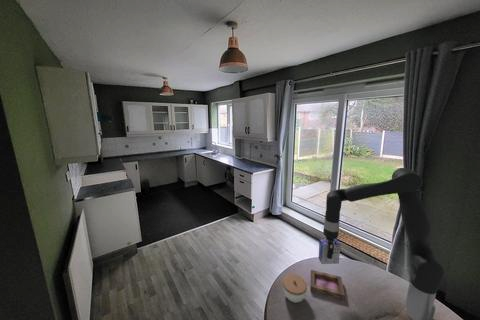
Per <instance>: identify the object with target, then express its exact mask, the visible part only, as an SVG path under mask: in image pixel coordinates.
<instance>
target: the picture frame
mask: <svg viewBox="0 0 480 320" xmlns="http://www.w3.org/2000/svg"><path fill="white" fill-rule="evenodd" d="M309 288H310V290H309V291H310V292H312V293H314V294H318V295H321V296H324V297H325V296H326V297H329V298H333V299H335V300H339V301H343V302H345V290H344V284H343V279H342V276H340V275H334V274H330V273H327V272H321V271H317V270H313V269H311V270H310V287H309Z"/></svg>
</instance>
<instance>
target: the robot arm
mask: <svg viewBox="0 0 480 320" xmlns="http://www.w3.org/2000/svg"><path fill="white" fill-rule="evenodd" d="M423 184H424V180H423V178H422V176H420V175H419V174H418V173H417V172H416V171H414V170H412V169H410V168H406V167H400V168H399V167H398V168H397V169H395V170H394V171H393V173H392V174H391V179H389V180H385V181H381V182H375V183H374V182H373V183H362V184H358V185H354V186H350V187H347V188H339V189H338V188H337V189H333V190H331V191H329V192H328V193H327V195H326V202H325V203H326V205H325V208H326V210H325V214H324V221H323V236H325V239H326V237H328V238H327V239H326V242H327V244H328V246H327V248H328V251H327V252H328V253H327V258H328V259H332V255H333V251H334V243H335V240H334V239H338V238H339V234H340V219H341V210H342V209H341V208H342V203H343V202H345V201H348V202H350V203H352V202H353V203H354V202H358V201H362V200H365V199H369V198H370V199H371V198H374V197H379V196H386V195H388V196H389V195H393V194H395V195H396V194H397V197H398V202H399V209H400V214H401V220H402V223H403V226H404V230H405V233H406V237H407V239H408V242H409V249H410V251H409V252H410V260H411V262H412V264H413V266H414V267H415V269H416V271H415V273H413V274H411V276H410V279H409V283H408V289H407V293H406V299H405V304H404V312H405V314H406V315H407V316H408V317H409V318H410V319H411V320H434V316H435V312H436V306H435V301H436V295H437V292H438V291H439V290H440V288H441V287H442V284H443V281H444V280H443V279H444V277H445V269H444V267H443V265H442V264H441V263H440V261H438V260H437V259H436V257H435V256H434V253H433V252H432V248H431V246H430V239H431V238H430V237H431V234H432V227H431V222H430V218H429V216H428V213H427V211H426V209H425V206H424V205H423V203H422V200H421V199H420V196H419V193H418V190H420V189H421V188H422V187H423Z"/></svg>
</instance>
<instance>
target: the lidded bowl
mask: <svg viewBox="0 0 480 320" xmlns="http://www.w3.org/2000/svg"><path fill="white" fill-rule="evenodd" d="M307 286H308V284H307V281H305V279H304V278H303V277H302V276H300V275H298V274H293V273H290V274H286V275H285V276H284V277H283V279H282V289H283V290H282V291H283V293H284V295H285V298H287V300H289V301H290V302H291V303H293V302H294V303H293V304H298V303H301V302H302V301H304V300H305V297H306V294H307V288H308V287H307Z"/></svg>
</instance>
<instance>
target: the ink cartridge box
mask: <svg viewBox="0 0 480 320" xmlns="http://www.w3.org/2000/svg"><path fill="white" fill-rule="evenodd" d="M327 238H328V237H326V236H325V238H323V239H322V238H321V239H320V238H319V239H318V241H319V243H318V246H319V247H318V261H319V262H320V264H321V265H334V264H335V265H337V264H339V263H340V254H341V243H340V242H339V240H338V238H336V239H334V240H335V243H334V251H333V255H332V259H328V258H327V253H328V252H327V251H328V248H327V246H328V244H327V242H326V239H327Z"/></svg>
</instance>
